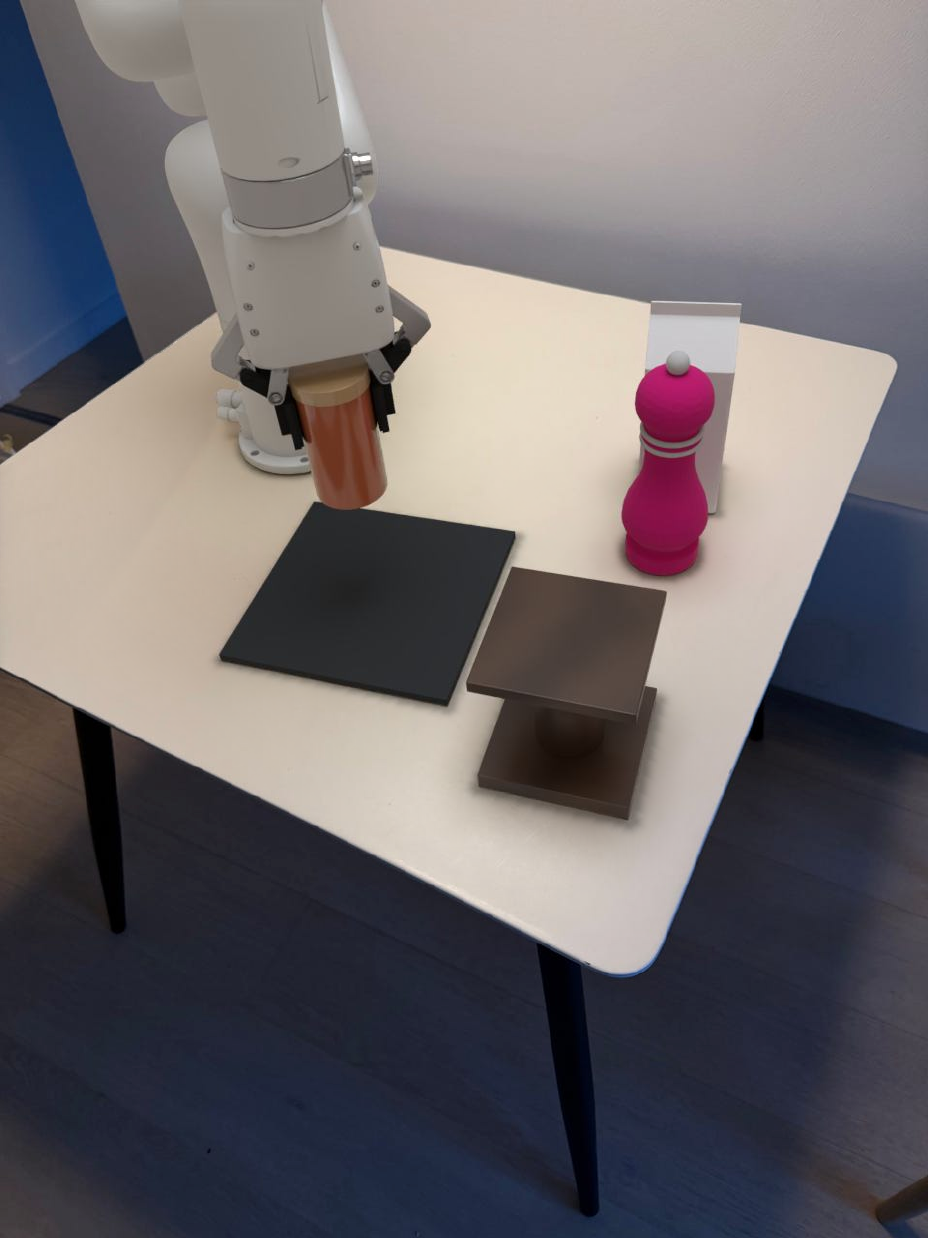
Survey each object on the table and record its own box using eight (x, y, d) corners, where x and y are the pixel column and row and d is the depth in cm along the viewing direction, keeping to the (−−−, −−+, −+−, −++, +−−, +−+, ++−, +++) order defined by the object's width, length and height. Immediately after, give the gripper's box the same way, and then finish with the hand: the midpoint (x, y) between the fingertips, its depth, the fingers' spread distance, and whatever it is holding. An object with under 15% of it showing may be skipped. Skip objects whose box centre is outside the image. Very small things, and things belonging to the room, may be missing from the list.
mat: (220, 660, 83) (218, 654, 82) (315, 507, 95) (314, 500, 95) (447, 706, 77) (446, 700, 77) (515, 537, 90) (515, 531, 89)
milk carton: (715, 515, 90) (741, 327, 76) (636, 509, 91) (647, 324, 77) (717, 466, 95) (742, 281, 81) (642, 461, 96) (654, 279, 82)
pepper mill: (682, 590, 84) (706, 390, 69) (605, 563, 87) (612, 365, 72) (715, 539, 88) (744, 339, 73) (640, 515, 91) (654, 318, 76)
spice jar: (303, 505, 76) (272, 387, 68) (332, 459, 80) (306, 343, 72) (373, 515, 75) (349, 396, 67) (399, 468, 78) (380, 350, 71)
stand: (478, 787, 72) (465, 682, 63) (518, 674, 79) (511, 565, 70) (628, 820, 69) (636, 715, 60) (656, 700, 76) (667, 590, 67)
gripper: (415, 140, 64) (443, 381, 77) (147, 186, 62) (222, 424, 75) (439, 186, 58) (464, 437, 72) (147, 238, 57) (227, 484, 70)
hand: (339, 428), depth 73 cm, fingers closed on spice jar, 5 cm apart
